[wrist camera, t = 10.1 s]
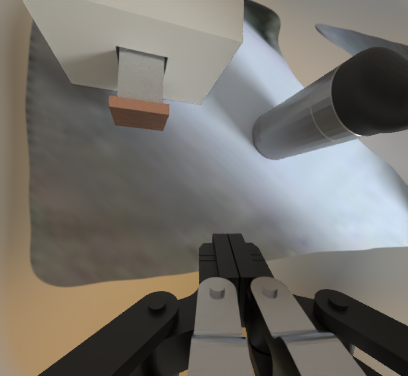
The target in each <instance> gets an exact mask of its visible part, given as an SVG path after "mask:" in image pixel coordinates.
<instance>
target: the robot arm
mask: <svg viewBox="0 0 408 376" xmlns="http://www.w3.org/2000/svg"><path fill="white" fill-rule="evenodd" d="M407 129H408V60H407V59H405V58H404V57H402V56H401V55H399V54H398V53H396V52H394V51H392V50H390V49H387V48H383V47H373V48H369V49H366V50H364V51H361V52H360V53H358V54H356V55H355V56H353V57H352V58H350V59H349V60H347V61H346V62H344V63H342V64H341V65H339V66H338V67H336V68H335V69H333V70H332V71H330V72H329V73H327V74H325V75H324V76H322V77H321V78H319V79H318V80H316V81H315V82H313V83H312V84H310V85H309V86H307V87H306V88H304V89H303V90H301V91H299V92H298V93H296V94H295V95H293V96H292V97H290V98H289V99H287V100H286V101H284V102H283V103H281V104H279V105H278V106H276V107H275V108H273V109H272V110H270V111H269V112H267V113H266V114H264V115H263V116H261V117H260V118H259V119H258V120H257V122H256V123H255V126H254V129H253V139H254V143H255V146H256V148H257V149H258V151H259V152H260V153H261V154H262V155H263V156H265V157H266V158H269V159H272V160H278V159H283V158H286V157H290V156H294V155H298V154H302V153H306V152H310V151H313V150H317V149H321V148H325V147H329V146H332V145H336V144H340V143H344V142H347V141H351V140H355V139H358V138H362V137H366V136H371V135H375V134H378V133H392V132H398V131H403V130H407ZM241 327H245V328H246V332H247V340H246V338H245V337H243V335H242V328H241ZM355 346H356V347H357V348H359V349H360V350H362V351H364V352H365V353H367V354H368V355H370V356H371V357H373V358H375V359H376V360H378V361H379V362H381V363H382V364H384V365H385V366H387V367H388V368H390V369H392V370H393V371H395V372H396V373H398V374H399V375H401V376H408V326H407V325H405V324H403V323H401V322H399V321H397V320H395V319H393V318H391V317H389V316H387V315H385V314H383V313H381V312H379V311H377V310H375V309H373V308H371V307H369V306H367V305H365V304H363V303H361V302H359V301H357V300H355V299H353V298H351V297H349V296H347V295H345V294H343V293H341V292H338V291H335V290H329V289H324V290H320V291H318V292H317V293H316V294H315V298H314V299H310V298H306V297H301V296H296V295H294V294H291V292H290V290H289V289H288V288H287V286H286V285H285V284H284V283H282V282H281V281H279V280H277V279H275V278H274V277H273V275H272V273H271V271H270V269H269V267H268V265H267V263H266V261H265V259H264V258H263V256H262V254H261V252H260V250H259V248H258V247H257V246H255V245H254V244H253V243H245V241H244V239H243V236H242V234H213V236H212V243H203V244H202V246H201V247H200V248H199V288H198V289H197V291H196V292H195V293H194V294H192V295H191V296H188V297H186V298H183V299H180V300H177V298H176V297H175V296H174V295H173V294H171V293H169V292H165V291H159V292H153V293H150V294H148V295H146V296H145V297H143V298H142V299H141V300H139V301H138V302H137V303H135V304H134V305H132V306H131V307H130V308H128V309H127V310H126V311H124V312H123V313H122V314H120V315H119V316H118V317H116V318H115V319H114V320H112V321H111V322H110V323H108V324H107V325H105V326H104V327H103V328H101V329H100V330H99V331H97V332H96V333H95V334H93V335H92V336H91V337H89V338H88V339H87V340H85V341H84V342H83V343H81V344H80V345H78V346H77V347H76V348H74V349H73V350H72V351H70V352H69V353H68V354H67V355H65V356H64V357H62V358H61V359H60V360H58V361H57V362H56V363H54V364H53V365H52V366H50V367H49V368H48V369H46V370H45V371H43V372H42V373H41V374H39V375H38V376H179V373H180V372H183V371H185V370H187V369H188V376H253V375H252V368H251V364H252V367H253V370H254V373H255V376H382V375H381V374H379V373H378V372H376V371H375V370H373V369H372V368H370V367H369V366H367V365H366V364H364V363H363V362H361V361H360V360H358V359H357V358H355V357H354V356H353V353H354V349H355ZM250 360H251V362H250Z"/></svg>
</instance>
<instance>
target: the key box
mask: <svg viewBox="0 0 408 376" xmlns="http://www.w3.org/2000/svg"><path fill="white" fill-rule="evenodd" d="M22 1H23V2H24V4H25V6H26V7H27V9H28V11H29V13H30V14H31V16H32V18H33V19H34V21H35V23H36V24H37V26H38V28H39V30H40V31H41V33H42V35H43V36H44V38H45V40H46V41H47V43H48V45H49V46H50V48H51V50H52V51H53V53H54V55H55V56H56V58H57V60H58V61H59V63H60V65H61V66H62V68H63V70H64V71H65V73H66V75H67V77H68V78H69V80H70V82H71V83H72V84H76V85H83V86H89V87H95V88H101V89H107V90H113V91H117V90H118V71H119V51H120V47H123V48H127V49H132V50H137V51H141V52H146V53H150V54H155V55H159V56H164V57H165V58H164V83H163V99H168V100H175V101H181V102H187V103H193V104H199V105H201V103H202V102H203V100H204V99H205V97H206V96H207V94H208V93H209V91H210V90H211V88H212V87H213V86H214V84H215V83H216V81H217V80H218V78H219V77H220V75H221V74H222V72H223V71H224V69H225V68H226V66H227V65H228V63H229V62H230V60H231V59H232V57H233V56H234V54H235V53H236V52H237V50H238V49H239V47H240V46H241V44H242V43H243V10H244V0H22Z"/></svg>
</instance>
